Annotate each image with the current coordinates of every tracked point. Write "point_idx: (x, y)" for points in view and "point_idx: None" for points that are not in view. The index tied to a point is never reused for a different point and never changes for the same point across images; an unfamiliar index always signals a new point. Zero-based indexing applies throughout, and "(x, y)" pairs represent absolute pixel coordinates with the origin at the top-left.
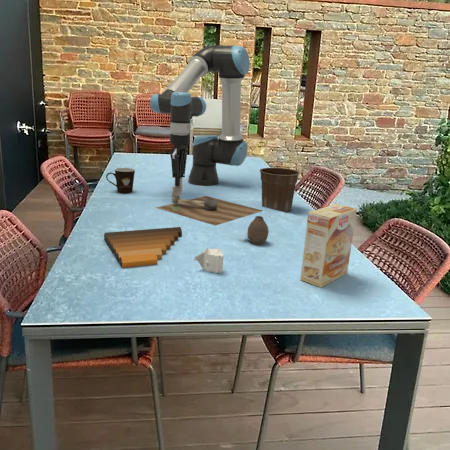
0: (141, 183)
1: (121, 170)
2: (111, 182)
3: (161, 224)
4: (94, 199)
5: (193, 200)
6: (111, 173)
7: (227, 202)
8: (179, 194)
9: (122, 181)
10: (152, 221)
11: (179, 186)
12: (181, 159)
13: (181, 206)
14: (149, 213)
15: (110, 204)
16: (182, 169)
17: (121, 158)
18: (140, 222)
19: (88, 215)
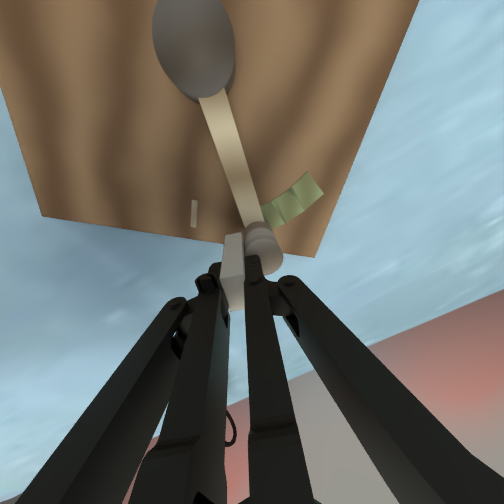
0: None
1: None
2: (227, 414)
3: (437, 158)
4: (293, 376)
5: (227, 164)
6: (226, 442)
7: (9, 48)
8: (258, 229)
9: None
10: (412, 200)
11: (243, 255)
12: (304, 460)
13: None
14: (337, 252)
15: None
16: (213, 326)
17: (14, 489)
18: (430, 221)
19: (404, 326)
